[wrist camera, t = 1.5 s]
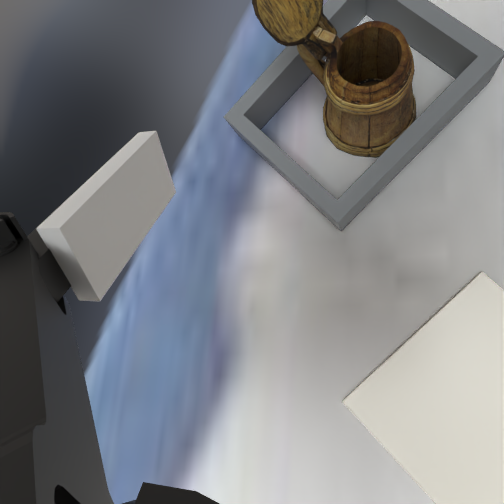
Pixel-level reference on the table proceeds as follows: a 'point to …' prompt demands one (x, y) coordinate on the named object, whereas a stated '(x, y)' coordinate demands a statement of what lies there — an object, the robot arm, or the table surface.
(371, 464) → the table surface
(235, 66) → the table surface
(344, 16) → the hollow square frame
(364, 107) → the wooden mug
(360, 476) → the table surface
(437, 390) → the cream board
